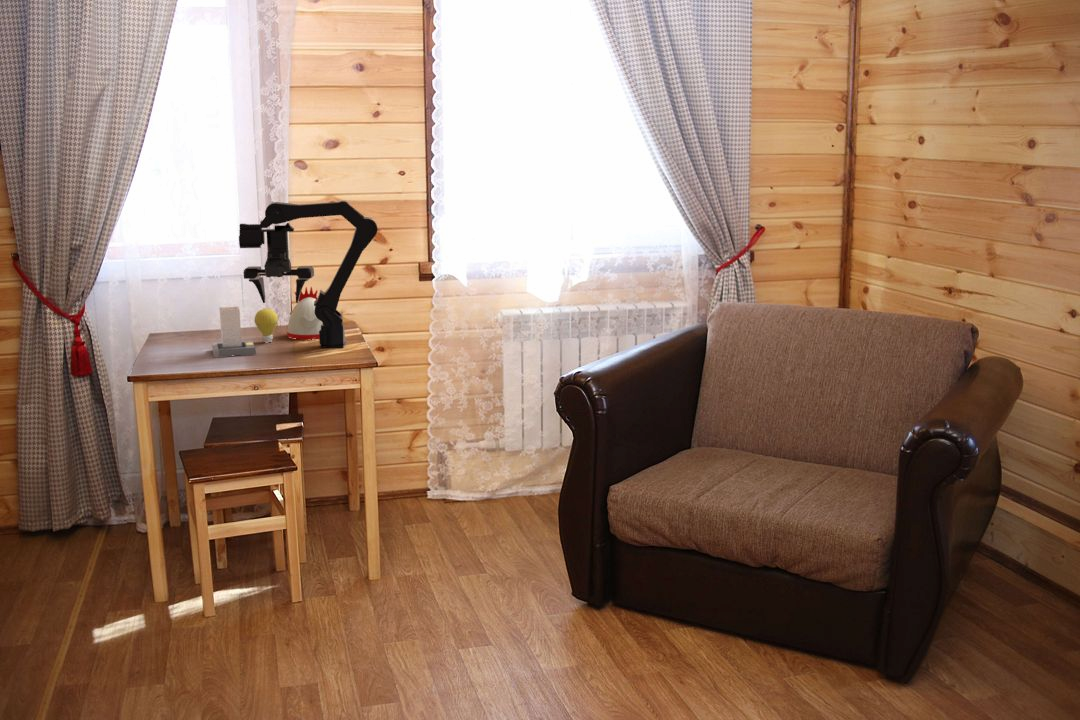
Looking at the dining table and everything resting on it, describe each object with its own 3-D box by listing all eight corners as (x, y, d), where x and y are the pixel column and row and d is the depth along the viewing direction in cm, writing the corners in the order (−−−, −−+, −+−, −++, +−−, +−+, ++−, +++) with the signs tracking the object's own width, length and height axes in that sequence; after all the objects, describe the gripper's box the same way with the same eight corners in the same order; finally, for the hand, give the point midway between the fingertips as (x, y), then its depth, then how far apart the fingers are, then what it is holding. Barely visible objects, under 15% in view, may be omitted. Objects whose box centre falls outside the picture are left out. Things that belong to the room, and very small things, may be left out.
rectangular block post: (240, 350, 300) (238, 306, 297) (242, 353, 296) (239, 309, 293) (222, 351, 298) (219, 307, 296) (223, 355, 294) (220, 310, 291)
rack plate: (252, 347, 304) (252, 340, 303) (255, 354, 294) (255, 346, 294) (212, 350, 300) (212, 342, 300) (214, 357, 291) (213, 349, 290)
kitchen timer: (288, 332, 327) (285, 284, 323) (333, 330, 329) (331, 282, 326) (286, 341, 313) (284, 290, 310) (334, 339, 316) (332, 289, 313)
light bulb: (267, 345, 307) (265, 311, 304) (250, 343, 310) (248, 309, 308) (284, 341, 312) (282, 308, 310) (267, 339, 316) (265, 306, 313)
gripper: (237, 251, 289) (240, 307, 292) (306, 250, 290) (309, 307, 293) (246, 246, 300) (249, 301, 303) (313, 246, 301) (315, 300, 304)
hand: (280, 302), depth 301 cm, fingers open, 9 cm apart
